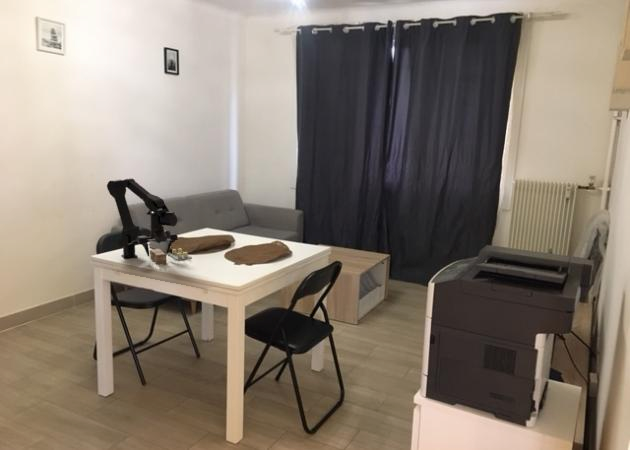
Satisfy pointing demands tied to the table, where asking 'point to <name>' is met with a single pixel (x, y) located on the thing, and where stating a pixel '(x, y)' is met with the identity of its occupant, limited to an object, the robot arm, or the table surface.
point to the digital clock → (158, 245)
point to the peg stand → (179, 255)
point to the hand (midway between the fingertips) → (157, 255)
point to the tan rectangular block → (158, 256)
